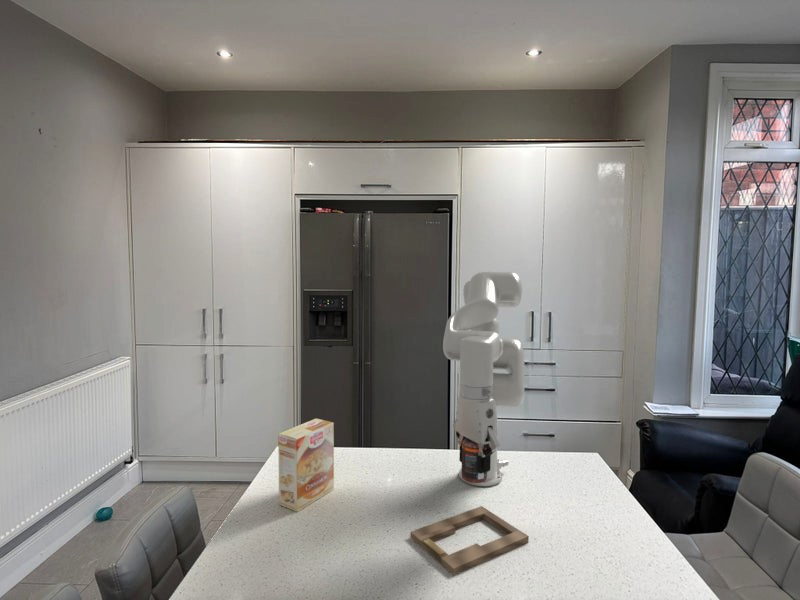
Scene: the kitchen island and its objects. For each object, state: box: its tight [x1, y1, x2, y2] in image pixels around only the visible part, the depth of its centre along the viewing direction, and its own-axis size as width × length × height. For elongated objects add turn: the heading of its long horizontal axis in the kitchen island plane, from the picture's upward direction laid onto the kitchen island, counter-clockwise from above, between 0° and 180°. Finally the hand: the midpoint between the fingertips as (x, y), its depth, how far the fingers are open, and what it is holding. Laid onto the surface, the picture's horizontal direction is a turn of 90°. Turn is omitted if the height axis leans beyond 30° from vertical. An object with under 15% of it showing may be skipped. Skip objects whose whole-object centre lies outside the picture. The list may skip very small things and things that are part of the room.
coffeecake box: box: [277, 418, 335, 513], centre depth 134 cm, size 15×7×20 cm, turn 148°
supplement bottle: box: [461, 438, 487, 483], centre depth 115 cm, size 6×6×11 cm
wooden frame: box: [410, 505, 529, 576], centre depth 114 cm, size 22×16×2 cm
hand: (474, 465), depth 115 cm, fingers closed on supplement bottle, 6 cm apart
